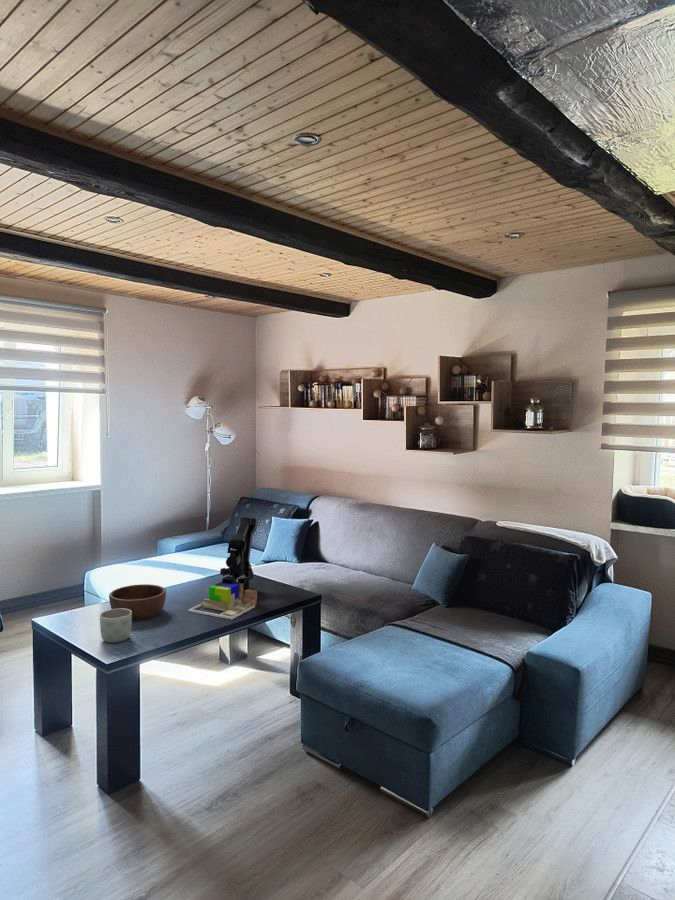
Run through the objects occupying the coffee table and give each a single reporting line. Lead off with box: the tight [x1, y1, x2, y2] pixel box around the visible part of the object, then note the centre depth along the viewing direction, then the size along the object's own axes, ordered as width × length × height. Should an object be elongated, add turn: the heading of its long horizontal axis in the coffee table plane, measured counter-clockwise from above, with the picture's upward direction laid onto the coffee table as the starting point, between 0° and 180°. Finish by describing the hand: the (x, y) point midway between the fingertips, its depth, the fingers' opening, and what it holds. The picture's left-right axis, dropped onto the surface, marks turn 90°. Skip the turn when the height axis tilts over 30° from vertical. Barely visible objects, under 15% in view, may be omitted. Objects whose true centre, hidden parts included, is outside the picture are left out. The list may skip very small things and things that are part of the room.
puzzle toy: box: [208, 581, 239, 606], centre depth 291 cm, size 10×10×10 cm
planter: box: [99, 608, 133, 644], centre depth 248 cm, size 12×12×11 cm
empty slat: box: [222, 589, 258, 617], centre depth 285 cm, size 21×5×7 cm, turn 156°
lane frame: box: [188, 603, 256, 620], centre depth 287 cm, size 19×24×1 cm
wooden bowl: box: [108, 583, 167, 621], centre depth 280 cm, size 25×25×10 cm
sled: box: [200, 583, 245, 612], centre depth 296 cm, size 21×15×7 cm
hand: (237, 593), depth 304 cm, fingers closed on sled, 3 cm apart
